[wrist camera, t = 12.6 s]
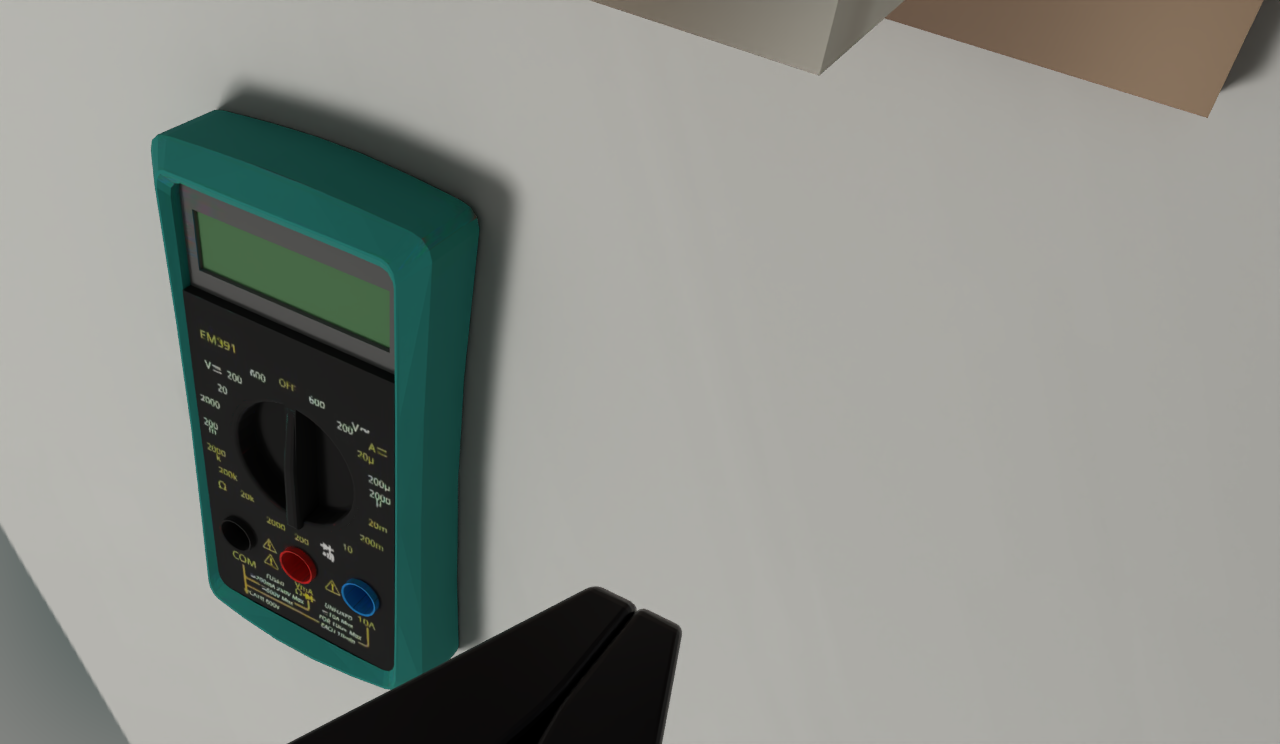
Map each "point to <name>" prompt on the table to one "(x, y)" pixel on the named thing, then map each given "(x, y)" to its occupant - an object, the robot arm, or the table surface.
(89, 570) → the table surface
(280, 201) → the digital multimeter
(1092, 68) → the din panel
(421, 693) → the robot arm
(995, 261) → the table surface
